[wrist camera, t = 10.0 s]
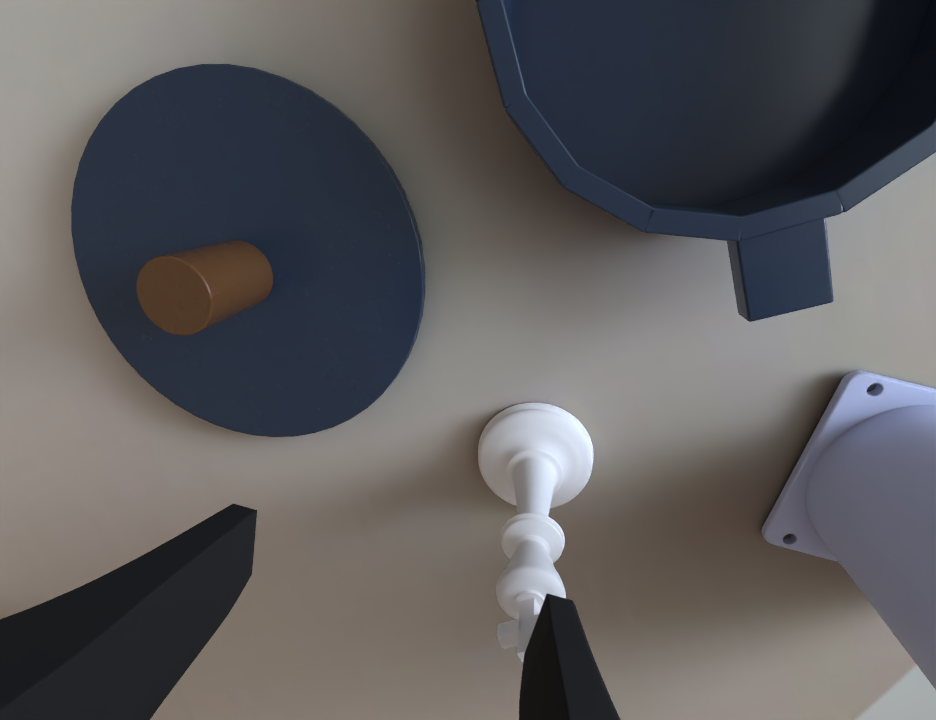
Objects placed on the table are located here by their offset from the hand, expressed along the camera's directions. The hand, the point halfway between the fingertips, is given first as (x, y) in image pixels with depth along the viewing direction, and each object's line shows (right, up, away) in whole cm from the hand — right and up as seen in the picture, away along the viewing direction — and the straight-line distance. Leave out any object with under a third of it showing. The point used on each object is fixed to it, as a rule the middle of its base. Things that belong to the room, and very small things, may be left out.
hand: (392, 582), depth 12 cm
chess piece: (+5, +1, +10) cm, 11 cm away
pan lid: (-7, +9, +8) cm, 14 cm away
